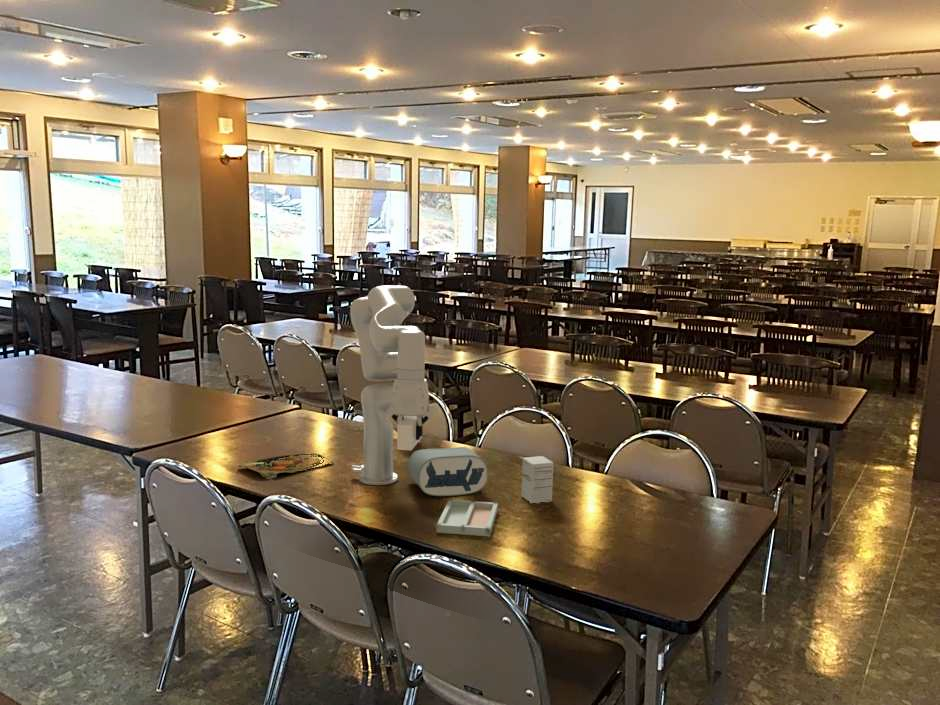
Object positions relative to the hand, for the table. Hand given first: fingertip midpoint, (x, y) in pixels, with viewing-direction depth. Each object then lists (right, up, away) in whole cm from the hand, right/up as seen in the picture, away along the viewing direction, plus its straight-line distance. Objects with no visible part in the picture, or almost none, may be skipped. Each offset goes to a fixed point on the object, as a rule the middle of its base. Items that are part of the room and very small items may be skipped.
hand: (410, 437), depth 224 cm
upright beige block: (0, -2, 0) cm, 2 cm away
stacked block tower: (+37, -21, +21) cm, 48 cm away
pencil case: (+9, -19, +29) cm, 36 cm away
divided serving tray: (+16, -24, +1) cm, 29 cm away
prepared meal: (-45, -16, +47) cm, 67 cm away
